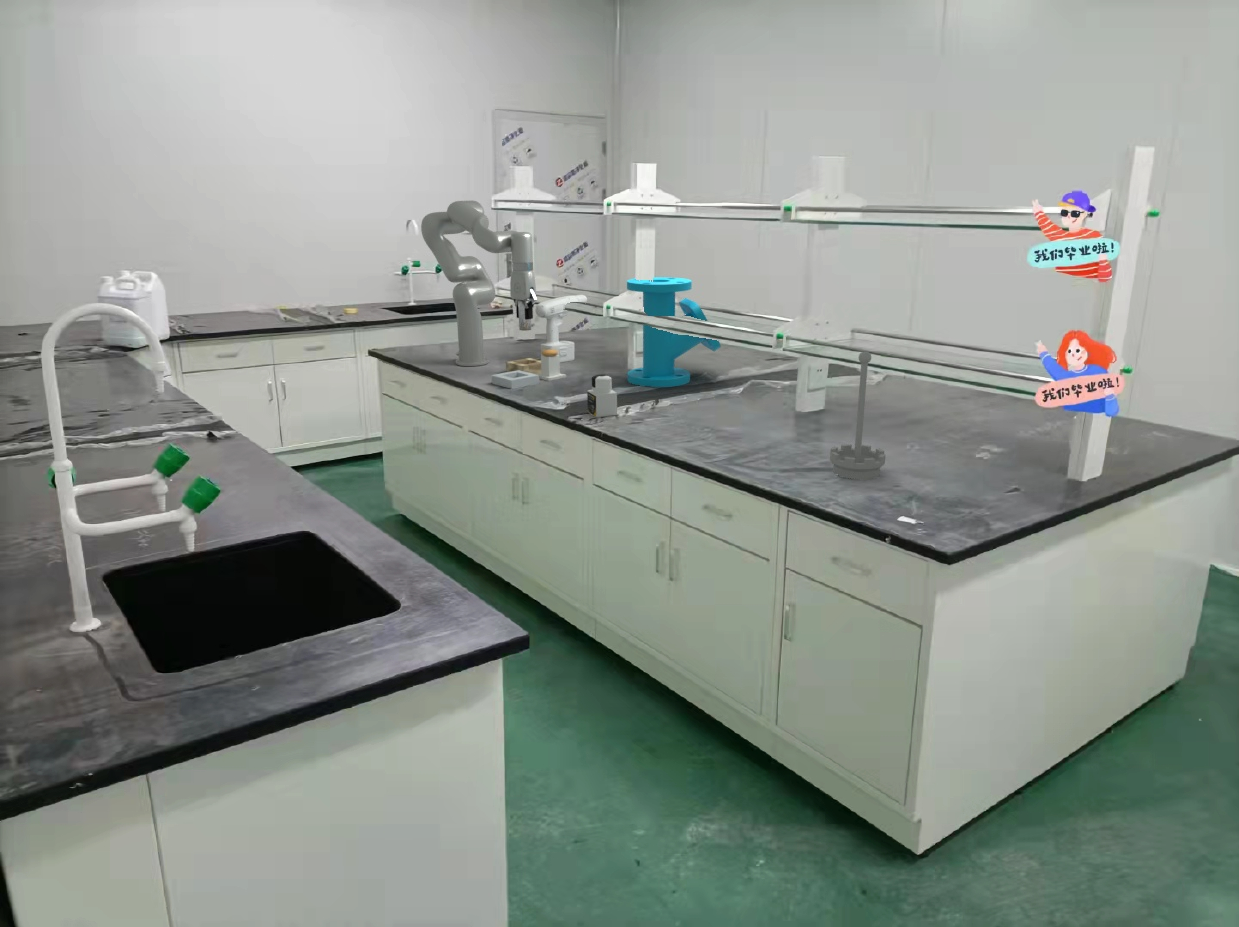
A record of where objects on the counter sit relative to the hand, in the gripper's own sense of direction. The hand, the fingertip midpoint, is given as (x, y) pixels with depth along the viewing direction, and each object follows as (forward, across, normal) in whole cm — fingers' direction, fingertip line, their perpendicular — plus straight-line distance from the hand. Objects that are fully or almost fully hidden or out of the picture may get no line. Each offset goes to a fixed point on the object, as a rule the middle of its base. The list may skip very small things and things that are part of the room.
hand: (524, 317), depth 327 cm
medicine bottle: (+21, +65, -20) cm, 71 cm away
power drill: (+21, -9, +25) cm, 34 cm away
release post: (+20, +13, +1) cm, 24 cm away
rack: (+20, 0, 0) cm, 20 cm away
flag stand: (+21, +151, -13) cm, 153 cm away
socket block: (+20, +12, -14) cm, 27 cm away
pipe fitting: (+21, +46, +30) cm, 59 cm away
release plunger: (+19, +13, +1) cm, 23 cm away
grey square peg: (+4, 0, 0) cm, 4 cm away
